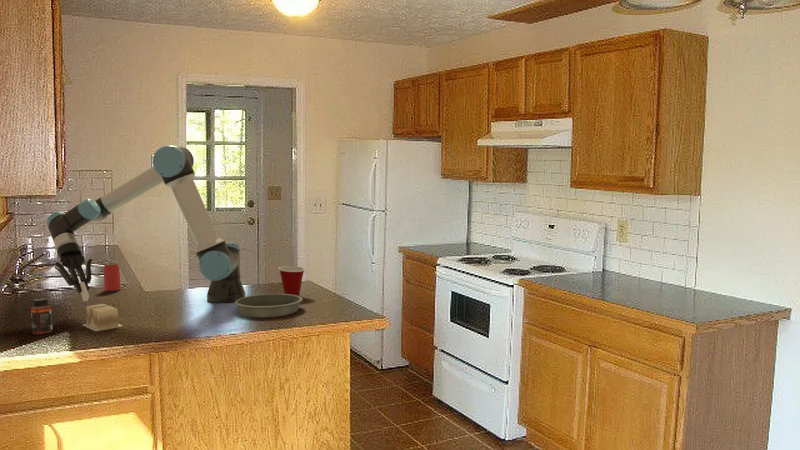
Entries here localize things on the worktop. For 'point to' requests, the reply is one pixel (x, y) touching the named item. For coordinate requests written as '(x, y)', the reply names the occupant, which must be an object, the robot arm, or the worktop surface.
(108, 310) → the beech block
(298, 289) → the plastic cup
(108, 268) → the beer can
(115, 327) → the mat
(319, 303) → the worktop surface
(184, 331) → the worktop surface
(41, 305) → the supplement bottle
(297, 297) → the cake pan
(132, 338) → the worktop surface
